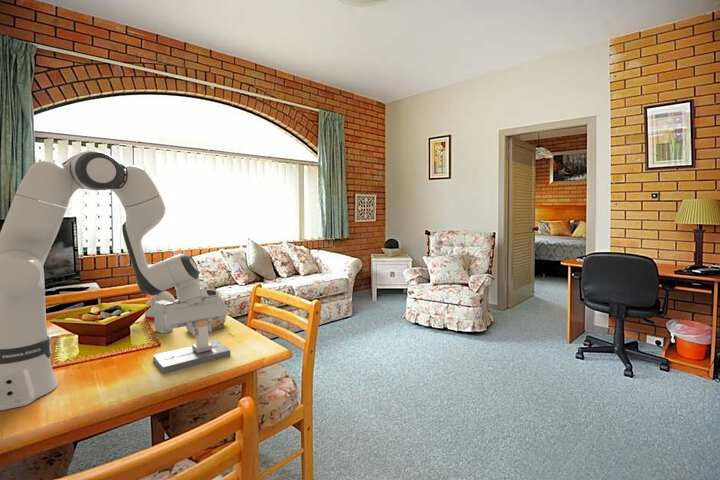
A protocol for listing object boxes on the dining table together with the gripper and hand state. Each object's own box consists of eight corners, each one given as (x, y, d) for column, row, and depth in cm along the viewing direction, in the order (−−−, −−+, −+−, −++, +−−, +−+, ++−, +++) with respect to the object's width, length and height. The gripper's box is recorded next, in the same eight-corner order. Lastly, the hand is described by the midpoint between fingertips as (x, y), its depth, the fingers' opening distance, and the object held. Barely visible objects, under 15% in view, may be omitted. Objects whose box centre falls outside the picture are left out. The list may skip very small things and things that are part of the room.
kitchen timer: (137, 319, 164) (136, 286, 163) (159, 310, 178) (158, 280, 177) (165, 321, 162) (164, 288, 161) (185, 312, 176) (184, 281, 174)
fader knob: (197, 353, 123) (196, 325, 122) (192, 348, 127) (191, 321, 126) (212, 349, 126) (211, 322, 125) (207, 344, 130) (206, 318, 129)
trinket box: (229, 323, 161) (229, 305, 161) (212, 335, 147) (212, 316, 146) (200, 322, 163) (200, 304, 162) (180, 333, 148) (180, 314, 147)
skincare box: (173, 330, 151) (172, 302, 150) (162, 333, 147) (161, 304, 146) (164, 327, 154) (163, 299, 153) (154, 330, 150) (153, 301, 149)
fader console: (163, 373, 113) (163, 366, 113) (153, 360, 122) (153, 354, 122) (230, 355, 127) (230, 349, 127) (217, 345, 136) (216, 339, 136)
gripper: (161, 299, 123) (171, 335, 117) (222, 290, 137) (234, 322, 130) (158, 309, 127) (167, 345, 121) (218, 299, 140) (229, 331, 134)
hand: (202, 333), depth 126 cm, fingers closed on fader knob, 3 cm apart
